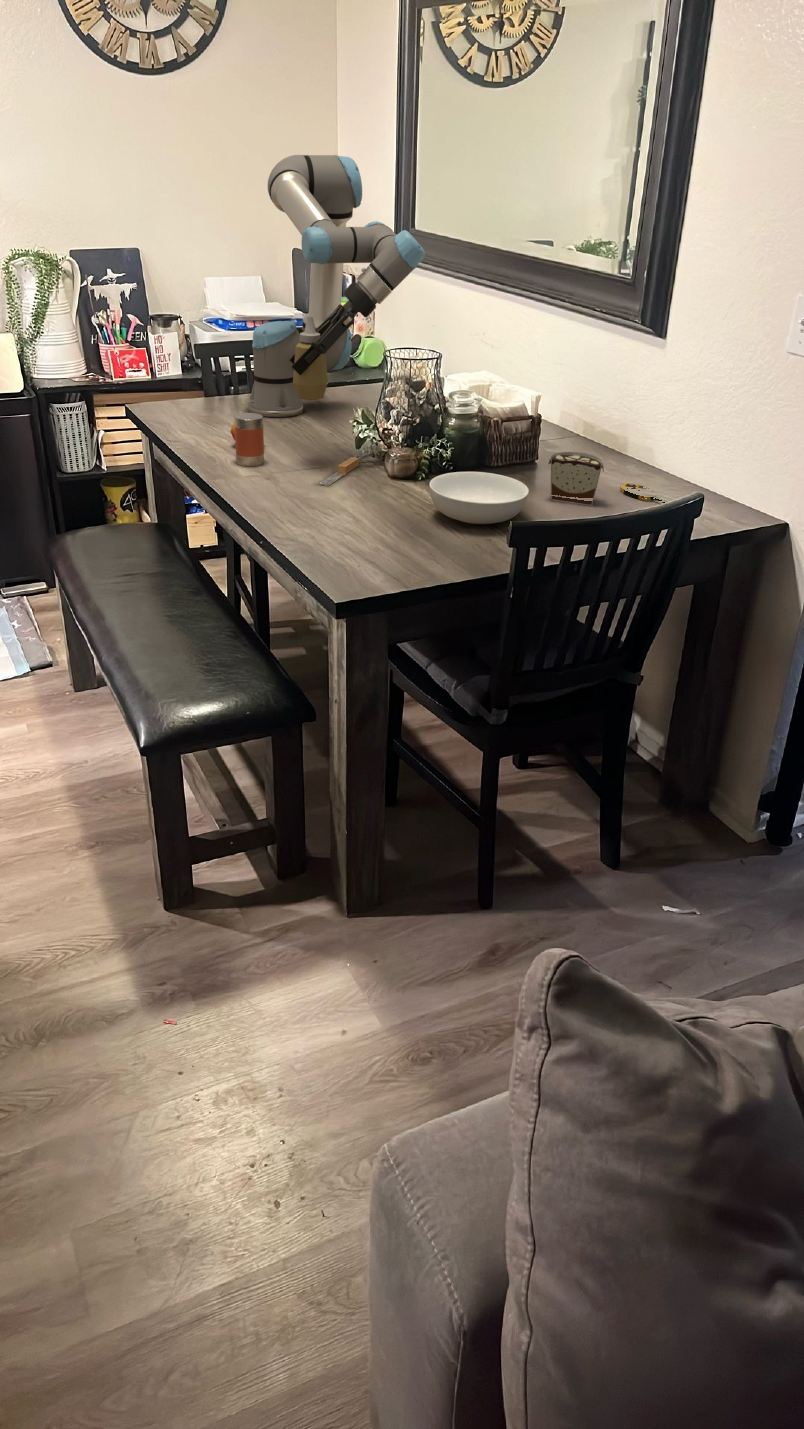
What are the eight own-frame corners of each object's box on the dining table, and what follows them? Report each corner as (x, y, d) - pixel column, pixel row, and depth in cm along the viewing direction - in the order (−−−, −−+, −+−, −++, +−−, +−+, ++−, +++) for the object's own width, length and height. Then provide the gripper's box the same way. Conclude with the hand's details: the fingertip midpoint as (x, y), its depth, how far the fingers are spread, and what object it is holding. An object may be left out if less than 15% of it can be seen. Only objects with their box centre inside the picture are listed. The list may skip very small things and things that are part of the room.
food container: (603, 499, 241) (609, 455, 236) (598, 507, 235) (604, 462, 230) (549, 491, 244) (554, 448, 239) (544, 499, 239) (548, 455, 234)
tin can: (244, 457, 259) (242, 411, 253) (269, 460, 257) (268, 414, 251) (230, 464, 253) (228, 417, 248) (256, 468, 251) (254, 421, 246)
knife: (350, 464, 257) (350, 456, 256) (359, 465, 256) (359, 458, 255) (318, 484, 242) (318, 476, 241) (328, 486, 241) (328, 478, 240)
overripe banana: (631, 480, 247) (680, 498, 237) (630, 488, 248) (679, 506, 238) (616, 483, 245) (665, 501, 234) (615, 491, 246) (663, 510, 235)
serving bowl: (459, 540, 214) (461, 506, 211) (410, 508, 230) (411, 477, 227) (545, 527, 223) (548, 495, 219) (492, 497, 239) (494, 467, 235)
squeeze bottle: (293, 393, 252) (291, 313, 243) (327, 394, 252) (327, 314, 243) (293, 401, 245) (291, 319, 236) (328, 402, 245) (328, 320, 236)
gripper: (349, 274, 246) (280, 347, 251) (360, 286, 229) (285, 364, 234) (372, 298, 249) (302, 370, 255) (384, 312, 232) (309, 389, 238)
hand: (294, 367), depth 244 cm, fingers closed on squeeze bottle, 6 cm apart
